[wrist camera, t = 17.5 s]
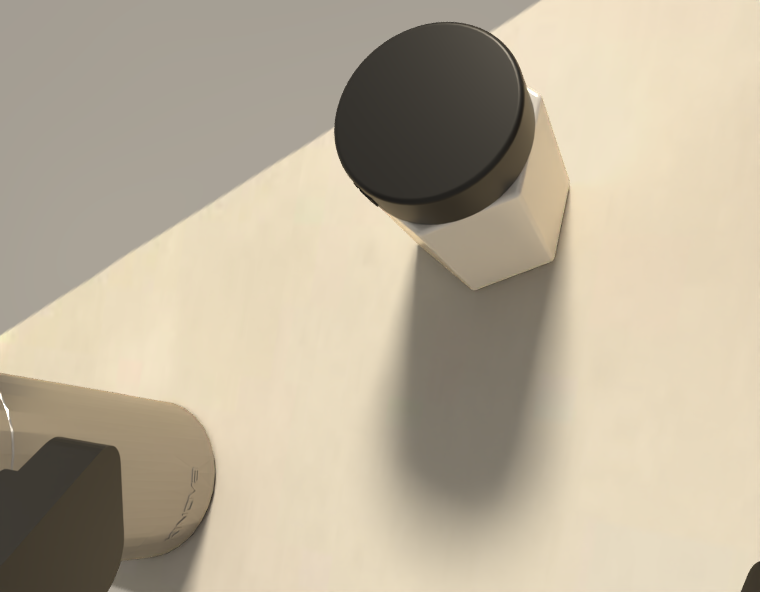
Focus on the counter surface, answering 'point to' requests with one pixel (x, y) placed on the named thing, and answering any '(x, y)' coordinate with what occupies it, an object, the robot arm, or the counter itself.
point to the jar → (456, 150)
